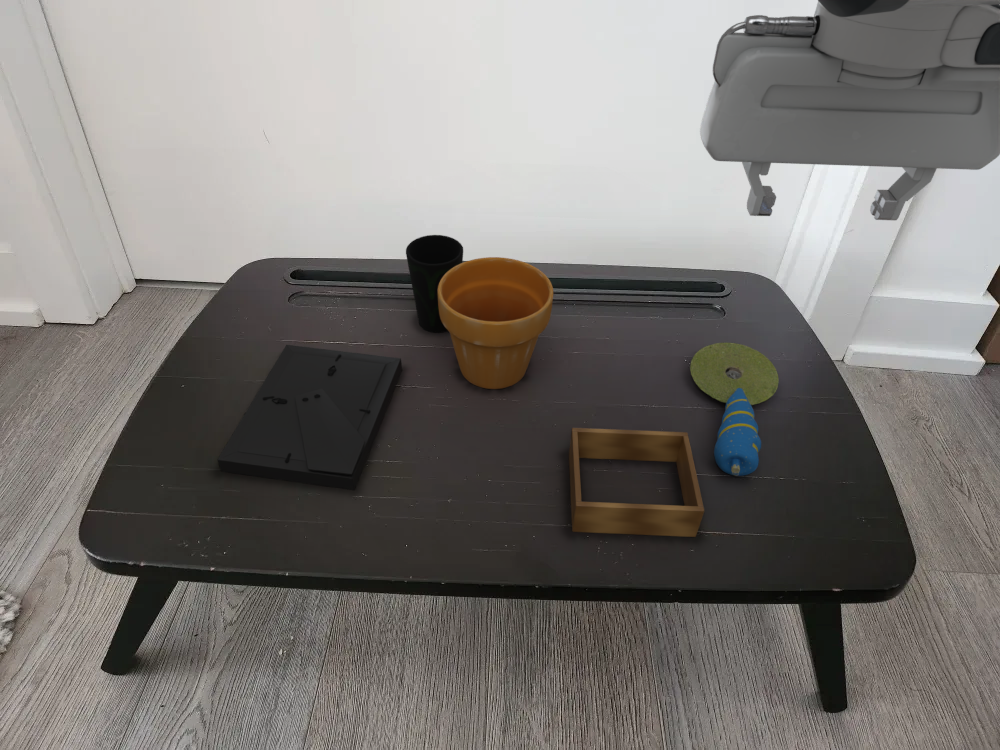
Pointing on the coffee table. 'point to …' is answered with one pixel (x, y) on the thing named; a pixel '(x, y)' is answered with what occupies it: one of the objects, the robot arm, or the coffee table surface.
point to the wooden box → (635, 515)
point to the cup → (431, 275)
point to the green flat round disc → (734, 372)
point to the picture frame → (313, 417)
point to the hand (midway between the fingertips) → (820, 214)
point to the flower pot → (494, 317)
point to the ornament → (738, 437)
